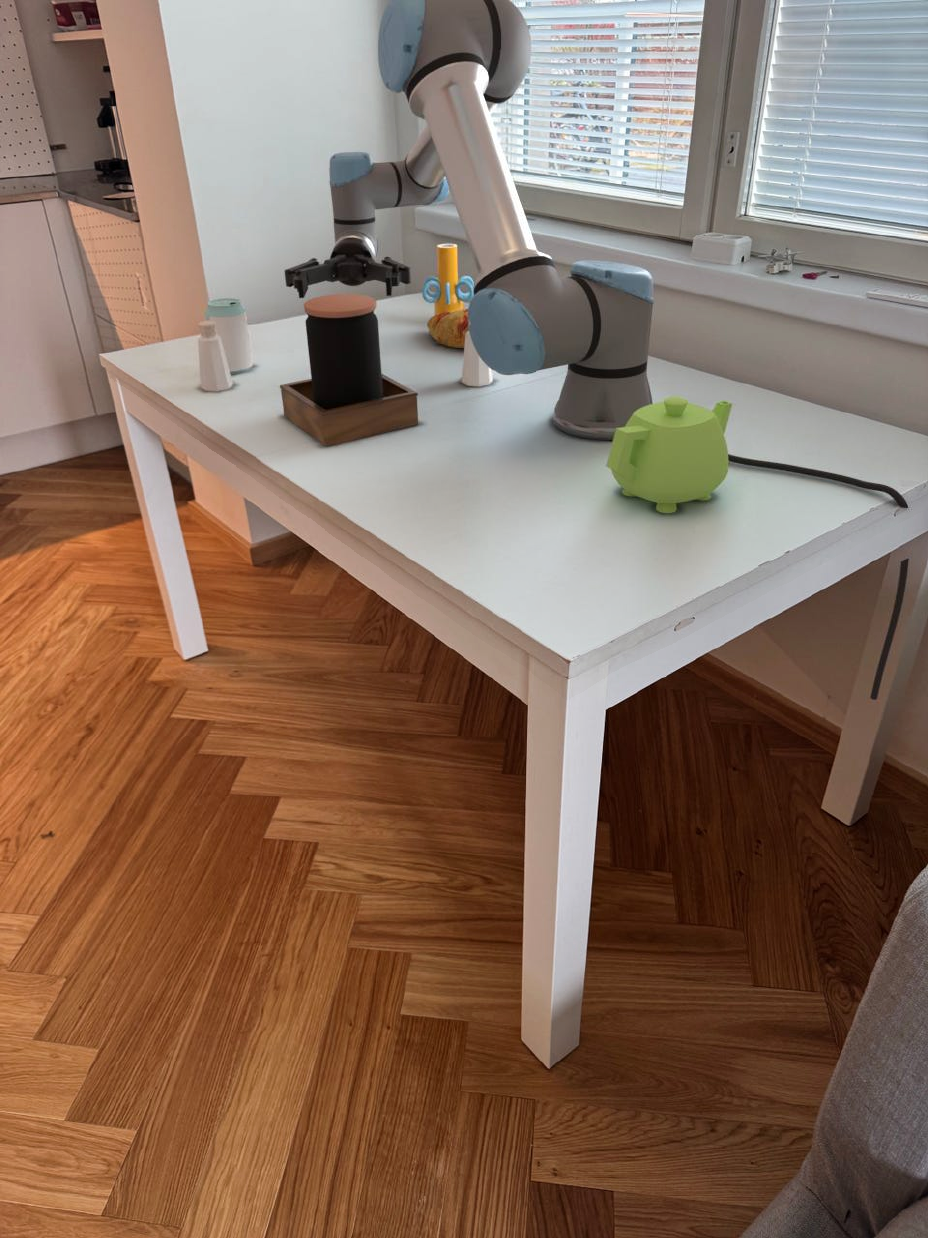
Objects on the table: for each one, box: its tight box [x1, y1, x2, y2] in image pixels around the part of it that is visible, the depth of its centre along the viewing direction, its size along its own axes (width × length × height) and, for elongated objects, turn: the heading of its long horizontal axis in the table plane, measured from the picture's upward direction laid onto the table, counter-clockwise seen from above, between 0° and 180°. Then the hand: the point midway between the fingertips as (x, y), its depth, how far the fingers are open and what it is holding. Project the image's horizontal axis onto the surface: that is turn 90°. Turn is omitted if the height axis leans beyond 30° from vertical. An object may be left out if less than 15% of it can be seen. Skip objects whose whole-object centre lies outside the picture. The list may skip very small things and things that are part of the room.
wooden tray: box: [279, 372, 419, 447], centre depth 145 cm, size 16×16×5 cm
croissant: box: [426, 307, 469, 349], centre depth 181 cm, size 21×10×8 cm, turn 40°
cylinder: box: [421, 243, 475, 316], centre depth 192 cm, size 12×10×15 cm
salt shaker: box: [197, 320, 234, 393], centre depth 159 cm, size 5×5×11 cm
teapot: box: [605, 396, 733, 514], centre depth 118 cm, size 20×13×13 cm
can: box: [204, 297, 254, 375], centre depth 168 cm, size 7×7×12 cm
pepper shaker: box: [461, 319, 494, 388], centre depth 159 cm, size 5×5×11 cm
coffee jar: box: [303, 293, 383, 410], centre depth 142 cm, size 11×11×18 cm
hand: (344, 287), depth 146 cm, fingers open, 13 cm apart
